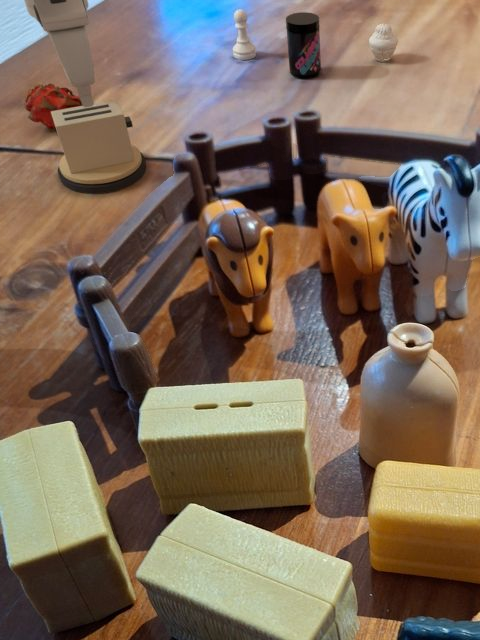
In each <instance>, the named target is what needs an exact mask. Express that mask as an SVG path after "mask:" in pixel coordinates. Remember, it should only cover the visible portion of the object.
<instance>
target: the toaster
mask: <svg viewBox="0 0 480 640" xmlns="http://www.w3.org/2000/svg"><path fill="white" fill-rule="evenodd" d="M51 114H52V118H53V121H54V124H55V127H56V128H55V131H56V133H57V136H58V139H59V142H60V146H61V148H62V151H63V155H62V156H61V158H60V160H59V163H58V167H59V168H60V171H61V173H62V175H63V176H64V177H65V178H67V179H68V180H70V181H73V182H76V183H81V184H103V183H109V182H113V181H116V180H120V179H122V178H124V177H127V176H129V175H130V174H132V173H133V172H135V171H136V170H137V169H138V168H139V166H140V164H141V162H142V157H141V153H142V152H141V150H140V149H139V148H138V147H137V146H136V145H134V144H132V142H131V139H130V135H129V130H128V129H129V128H133V127H134V126H133V121H132V120H131V117H130V116H125V114H124V112H123V110H122V108H121V106H120V104H119V102H118V99H112V100H108V101H101V102H96V103H94V105H93V106H91V107H83V106H78V107H73V108H67V109H62V110H56V111H51ZM140 152H141V153H140Z"/></svg>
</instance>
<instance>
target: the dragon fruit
mask: <svg viewBox="0 0 480 640" xmlns="http://www.w3.org/2000/svg"><path fill="white" fill-rule="evenodd" d="M33 87H34V88H30V89H28V91H27V94H26V96H25V97H24V101H25V103H24V105H23V107H24V108H25V110H26V111H27V112H29V113H28V119H29V120H30V121H32V122H34V123H41V124H42V125H43V126H45V127H46V128H47V129H48V130H49V131H50V133H54V132H55V131H56V127H55V124H54V121H53V118H52V114H51V111H56V110H62V109H67V108H73V107H78V106H82V103H81V100H80V97H79V95H75V94H74V93H73V91H72V90H71V89H69V88H68V87H60V86H58V85H57V86H56V85H55V84H54V83H48V84H41V83H37V84H35V85H34V86H33Z"/></svg>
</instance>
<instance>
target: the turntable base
mask: <svg viewBox="0 0 480 640" xmlns="http://www.w3.org/2000/svg"><path fill="white" fill-rule="evenodd" d="M140 153H141V157H142V162H141V164H140V166H139V168H138V169H137V170H136V171H135V172H133V173H132V174H130V175H129V176H127V177H124V178H122V179H120V180H116V181H113V182H109V183H103V184H81V183H76V182H73V181H70V180H68V179H67V178H65V177H64V176H63V175H62V173H61V171H60V168H59V166H58V167H57V174H58V177H59V181H60V182H61V184H62V185H63V186H64V187H66V188H67V189H69V190H70V191H73V192H77V193H81V194H106V193H111V192H116V191H119V190H123V189H125V188H128V187H130V186H131V185H134V184H135V183H137V182H138V181H139V180H141V178H142V177H143V176H144V175H145V174H146V172H147V161H146V159H145V155H144V154H143V153H142V152H141V151H140Z"/></svg>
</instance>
